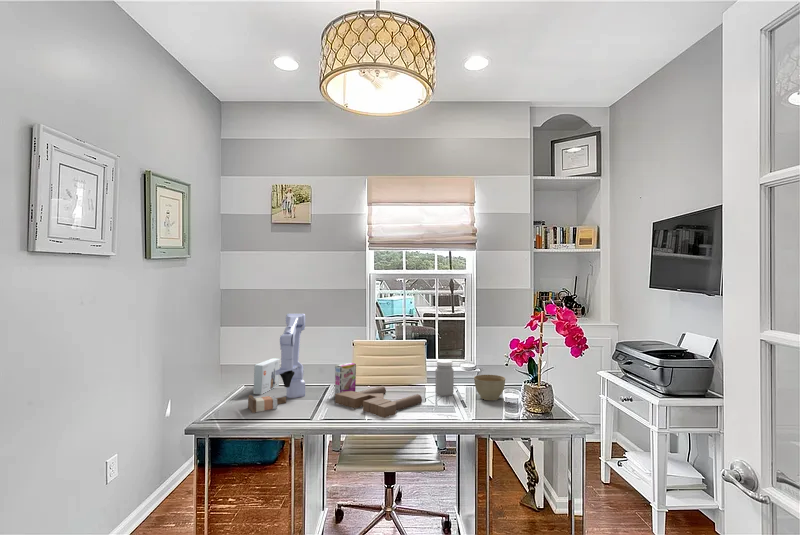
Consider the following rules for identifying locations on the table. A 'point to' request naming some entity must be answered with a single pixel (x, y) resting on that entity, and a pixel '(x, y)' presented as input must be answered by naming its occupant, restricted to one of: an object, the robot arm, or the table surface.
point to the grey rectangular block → (274, 402)
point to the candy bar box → (345, 377)
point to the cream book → (259, 404)
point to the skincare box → (266, 376)
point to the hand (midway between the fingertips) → (287, 387)
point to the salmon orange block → (268, 402)
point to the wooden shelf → (253, 402)
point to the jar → (444, 378)
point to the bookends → (375, 401)
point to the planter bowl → (489, 386)
